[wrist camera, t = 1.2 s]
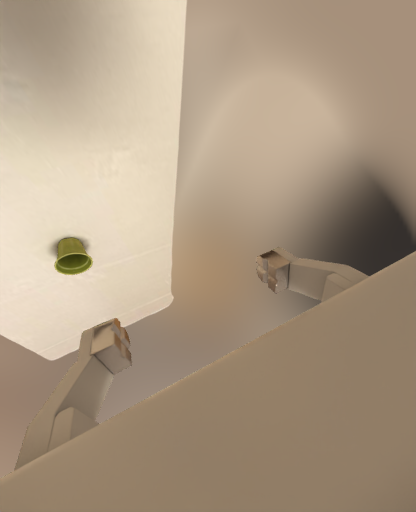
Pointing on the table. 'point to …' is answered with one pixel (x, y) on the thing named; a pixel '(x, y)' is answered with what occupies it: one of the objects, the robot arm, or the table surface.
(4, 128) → the table surface
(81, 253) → the plant pot
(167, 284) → the table surface
